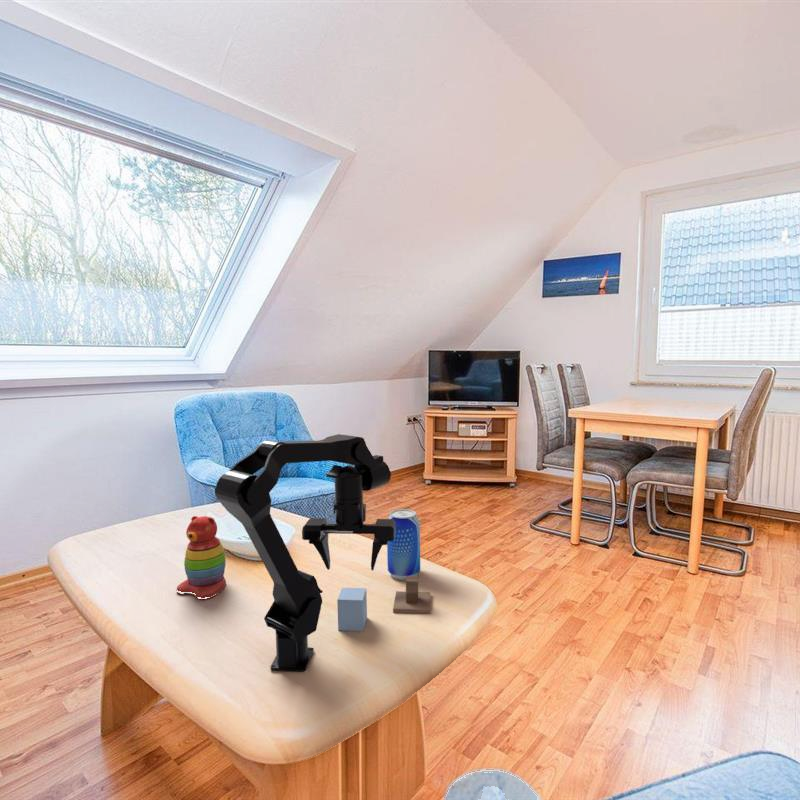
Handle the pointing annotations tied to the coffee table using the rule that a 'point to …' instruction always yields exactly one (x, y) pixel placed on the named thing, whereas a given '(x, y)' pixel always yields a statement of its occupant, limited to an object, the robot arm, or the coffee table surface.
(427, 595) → the brown square stand
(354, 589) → the pale blue foam brick
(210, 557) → the stacking bear
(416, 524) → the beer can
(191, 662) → the coffee table surface
